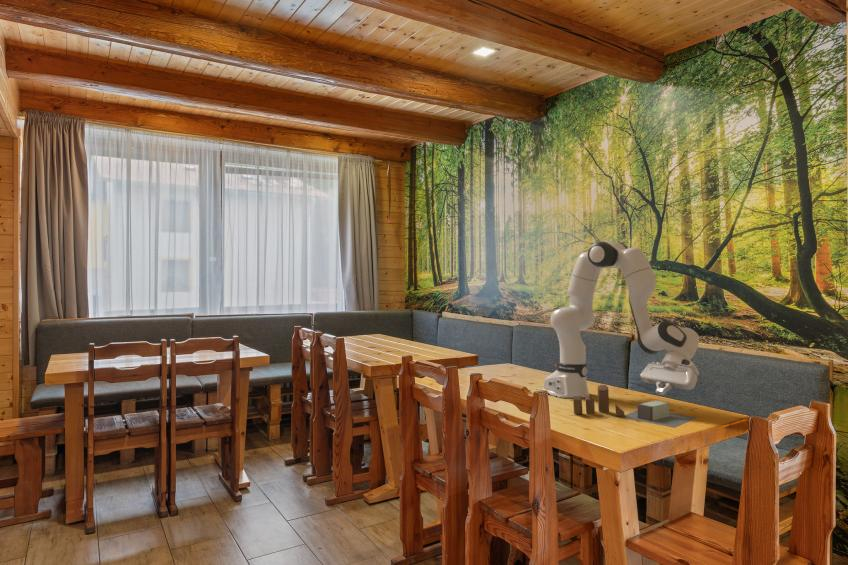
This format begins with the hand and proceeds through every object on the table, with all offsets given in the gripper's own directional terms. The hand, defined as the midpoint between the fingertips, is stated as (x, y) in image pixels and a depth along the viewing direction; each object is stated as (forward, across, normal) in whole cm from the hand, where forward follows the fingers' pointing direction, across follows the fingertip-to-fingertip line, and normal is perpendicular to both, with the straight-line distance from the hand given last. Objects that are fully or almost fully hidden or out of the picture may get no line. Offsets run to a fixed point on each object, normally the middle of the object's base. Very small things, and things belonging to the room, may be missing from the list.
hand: (659, 393), depth 205 cm
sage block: (+3, 0, +6) cm, 6 cm away
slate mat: (+8, +1, +5) cm, 9 cm away
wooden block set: (+17, -15, -5) cm, 24 cm away
